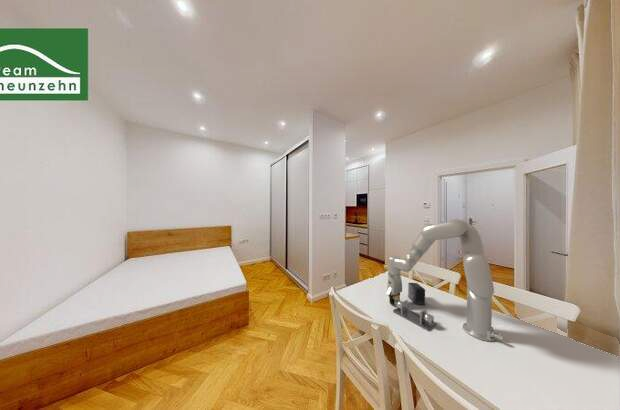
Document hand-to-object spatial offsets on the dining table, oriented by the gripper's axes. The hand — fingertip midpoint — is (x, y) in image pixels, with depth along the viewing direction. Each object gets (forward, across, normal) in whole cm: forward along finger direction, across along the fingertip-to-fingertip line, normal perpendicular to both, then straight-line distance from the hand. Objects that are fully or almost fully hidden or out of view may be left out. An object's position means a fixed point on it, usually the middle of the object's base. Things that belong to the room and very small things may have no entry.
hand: (394, 302), depth 123 cm
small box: (+2, +17, -5) cm, 18 cm away
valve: (+1, 0, 0) cm, 1 cm away
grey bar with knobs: (+2, -4, -14) cm, 15 cm away
